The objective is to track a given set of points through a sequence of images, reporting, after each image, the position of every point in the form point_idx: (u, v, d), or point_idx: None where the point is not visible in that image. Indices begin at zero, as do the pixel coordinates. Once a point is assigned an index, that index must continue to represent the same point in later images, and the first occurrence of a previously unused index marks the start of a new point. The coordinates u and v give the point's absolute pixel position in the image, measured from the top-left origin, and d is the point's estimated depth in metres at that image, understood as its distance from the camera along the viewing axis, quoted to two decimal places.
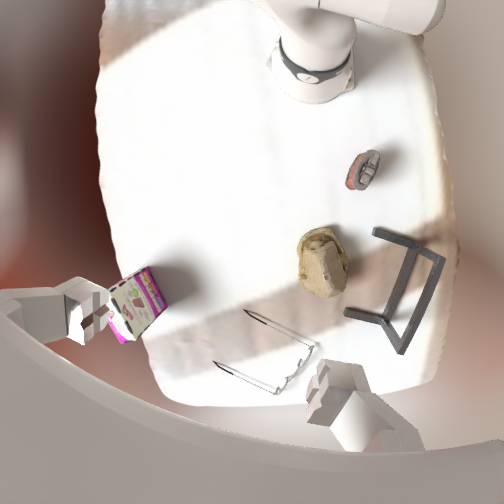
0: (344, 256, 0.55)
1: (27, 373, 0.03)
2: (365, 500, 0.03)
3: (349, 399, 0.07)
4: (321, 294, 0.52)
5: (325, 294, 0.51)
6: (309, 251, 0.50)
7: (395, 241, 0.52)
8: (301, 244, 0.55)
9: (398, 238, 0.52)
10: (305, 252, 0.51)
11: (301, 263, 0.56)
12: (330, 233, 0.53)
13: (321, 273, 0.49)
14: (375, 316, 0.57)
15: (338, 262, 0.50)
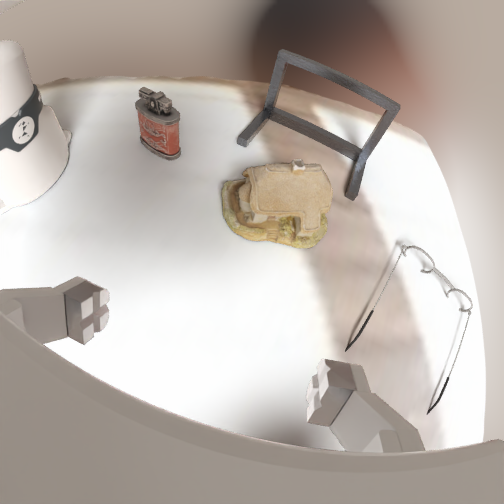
0: None
1: (27, 373, 0.03)
2: (365, 500, 0.03)
3: (349, 399, 0.07)
4: (327, 197, 0.31)
5: (327, 188, 0.31)
6: (252, 193, 0.29)
7: (259, 123, 0.42)
8: (242, 227, 0.33)
9: (255, 119, 0.42)
10: (254, 203, 0.29)
11: (275, 235, 0.34)
12: (232, 182, 0.34)
13: (291, 176, 0.29)
14: (355, 164, 0.43)
15: None
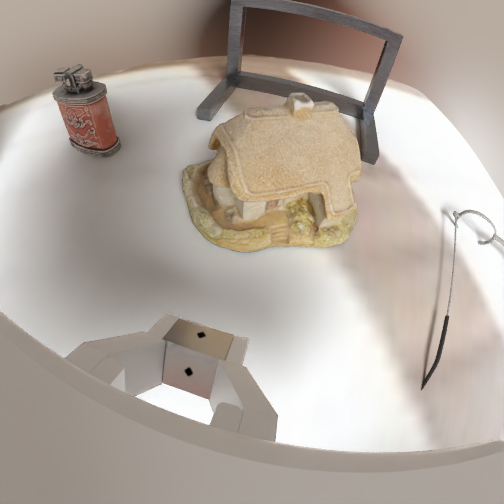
0: None
1: (27, 373, 0.03)
2: (365, 500, 0.03)
3: (217, 369, 0.07)
4: (354, 154, 0.18)
5: (351, 139, 0.17)
6: (231, 164, 0.15)
7: (223, 89, 0.29)
8: (226, 232, 0.19)
9: (218, 87, 0.29)
10: (238, 183, 0.15)
11: (284, 235, 0.20)
12: (196, 166, 0.21)
13: (294, 123, 0.15)
14: (362, 120, 0.30)
15: None
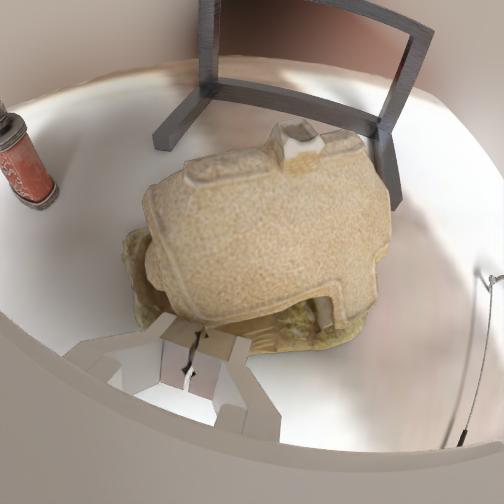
0: None
1: (27, 373, 0.03)
2: (365, 500, 0.03)
3: (220, 370, 0.07)
4: (383, 219, 0.11)
5: (380, 194, 0.11)
6: (166, 274, 0.08)
7: (191, 105, 0.22)
8: None
9: (185, 101, 0.22)
10: (182, 304, 0.09)
11: (270, 341, 0.13)
12: (140, 232, 0.14)
13: (284, 183, 0.08)
14: (377, 142, 0.23)
15: None
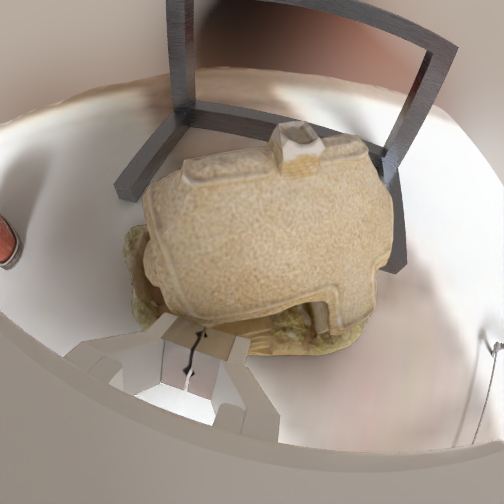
0: None
1: (27, 373, 0.03)
2: (365, 500, 0.03)
3: (219, 369, 0.07)
4: (385, 226, 0.11)
5: (383, 201, 0.10)
6: (161, 271, 0.08)
7: (161, 140, 0.19)
8: None
9: (155, 134, 0.20)
10: (175, 301, 0.09)
11: (265, 343, 0.13)
12: (142, 228, 0.14)
13: (282, 185, 0.08)
14: None
15: None
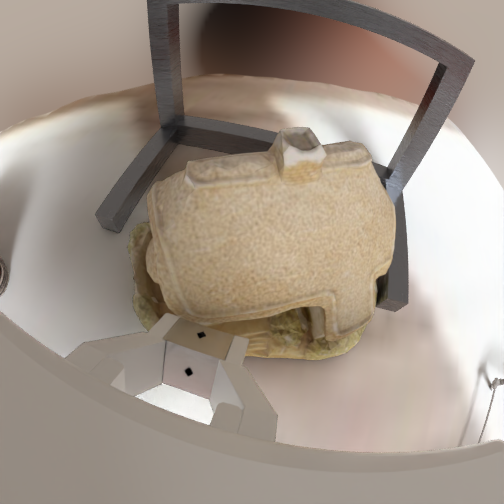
0: None
1: (27, 373, 0.03)
2: (365, 500, 0.03)
3: (217, 369, 0.07)
4: (386, 235, 0.11)
5: (385, 210, 0.10)
6: (161, 268, 0.09)
7: (146, 162, 0.18)
8: None
9: (140, 155, 0.18)
10: (173, 298, 0.09)
11: (262, 345, 0.13)
12: (147, 225, 0.14)
13: (283, 190, 0.08)
14: None
15: None
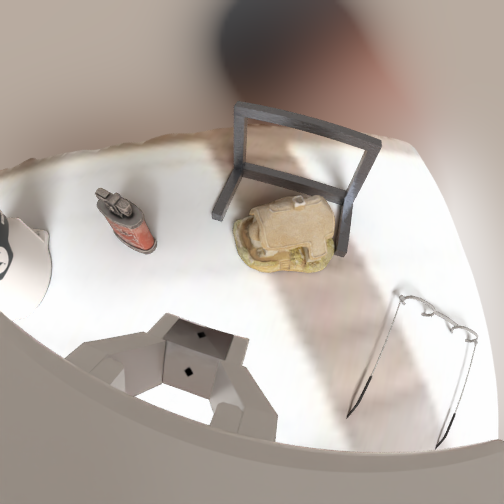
0: None
1: (27, 373, 0.03)
2: (365, 500, 0.03)
3: (217, 369, 0.07)
4: (329, 224, 0.34)
5: (328, 215, 0.34)
6: (261, 233, 0.32)
7: (231, 188, 0.42)
8: (256, 262, 0.36)
9: (227, 184, 0.42)
10: (264, 242, 0.33)
11: (287, 265, 0.37)
12: (241, 220, 0.38)
13: (294, 212, 0.32)
14: (342, 211, 0.41)
15: (279, 199, 0.35)
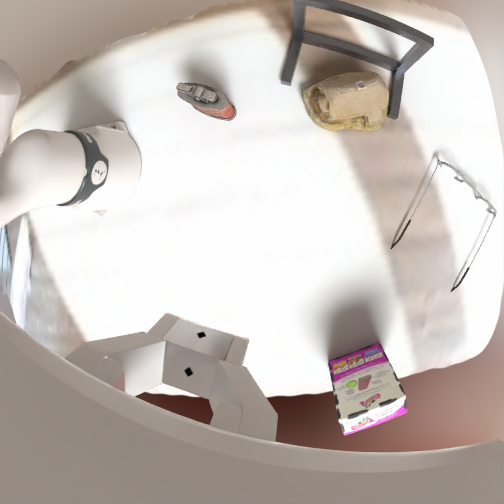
0: (337, 76, 0.37)
1: (27, 373, 0.03)
2: (365, 500, 0.03)
3: (217, 369, 0.07)
4: (385, 98, 0.32)
5: (384, 92, 0.32)
6: (331, 108, 0.34)
7: (295, 57, 0.36)
8: (325, 124, 0.39)
9: (290, 53, 0.36)
10: (333, 114, 0.34)
11: (350, 125, 0.39)
12: (309, 89, 0.37)
13: (357, 93, 0.31)
14: (394, 79, 0.35)
15: (342, 76, 0.32)
